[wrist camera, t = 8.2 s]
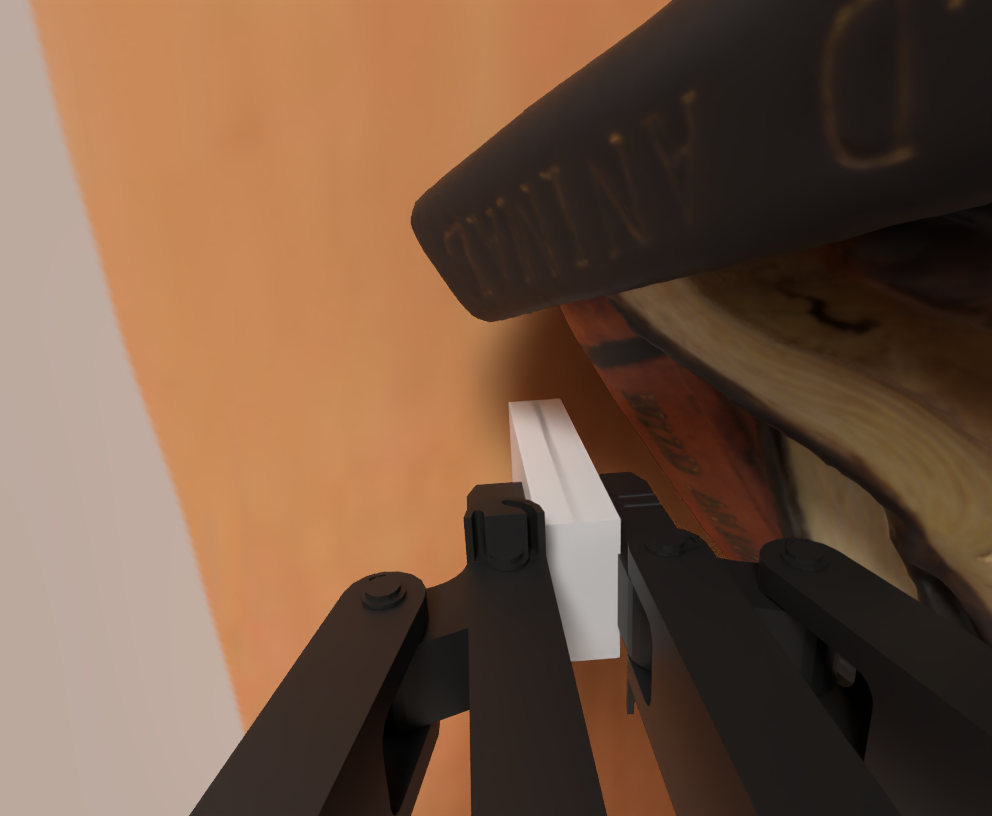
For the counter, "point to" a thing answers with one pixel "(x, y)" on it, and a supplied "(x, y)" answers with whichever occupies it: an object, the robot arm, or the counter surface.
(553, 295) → the bookend
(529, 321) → the counter surface
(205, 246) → the counter surface
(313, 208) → the counter surface
